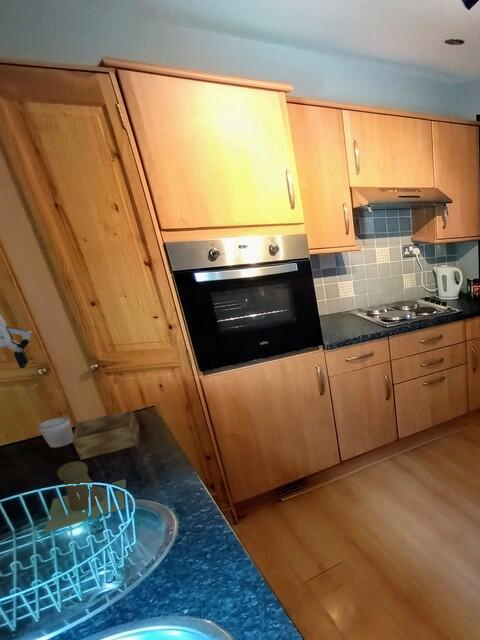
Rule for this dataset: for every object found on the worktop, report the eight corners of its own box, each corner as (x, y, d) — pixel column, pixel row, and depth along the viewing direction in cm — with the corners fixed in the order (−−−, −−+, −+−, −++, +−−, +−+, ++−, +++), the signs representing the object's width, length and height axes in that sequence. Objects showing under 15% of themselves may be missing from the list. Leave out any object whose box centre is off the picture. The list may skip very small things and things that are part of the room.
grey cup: (48, 451, 132) (38, 430, 129) (45, 443, 136) (35, 422, 133) (79, 442, 137) (70, 421, 134) (75, 434, 141) (66, 414, 138)
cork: (102, 491, 114) (85, 454, 109) (104, 502, 110) (87, 465, 105) (70, 502, 110) (51, 464, 105) (71, 514, 106) (52, 475, 101)
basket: (80, 459, 128) (71, 440, 126) (85, 440, 138) (77, 422, 135) (138, 445, 135) (131, 426, 133) (139, 427, 145) (132, 410, 142)
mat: (45, 533, 101) (44, 531, 101) (54, 501, 111) (53, 499, 111) (124, 508, 109) (123, 506, 109) (126, 480, 119) (125, 478, 119)
